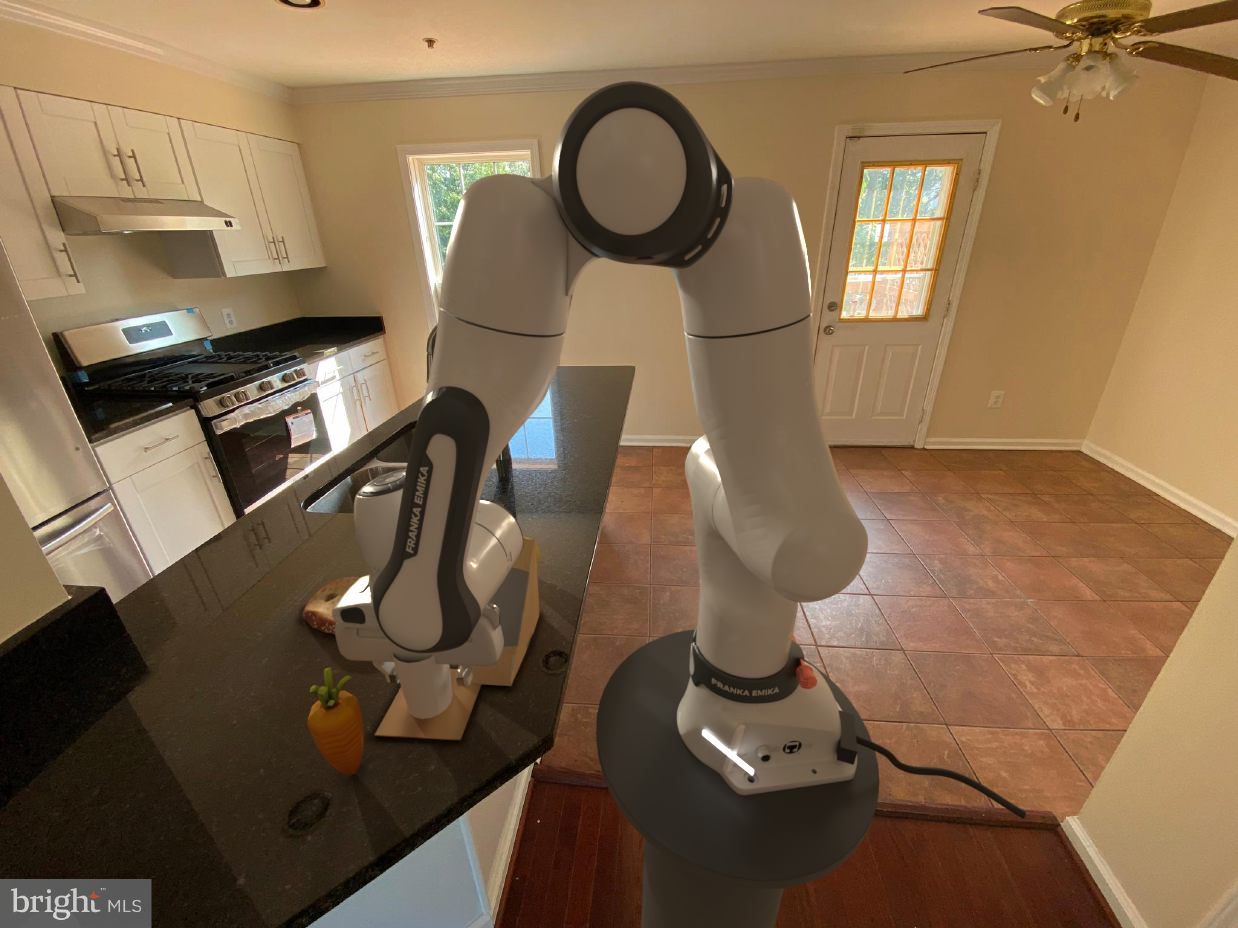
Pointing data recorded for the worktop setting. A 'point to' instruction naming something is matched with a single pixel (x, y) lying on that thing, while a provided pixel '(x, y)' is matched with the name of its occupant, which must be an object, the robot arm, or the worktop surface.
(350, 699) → the carrot
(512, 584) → the sandwich container
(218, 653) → the worktop surface
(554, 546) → the worktop surface
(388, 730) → the cork coaster
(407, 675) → the white coffee cup
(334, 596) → the slice of bread
